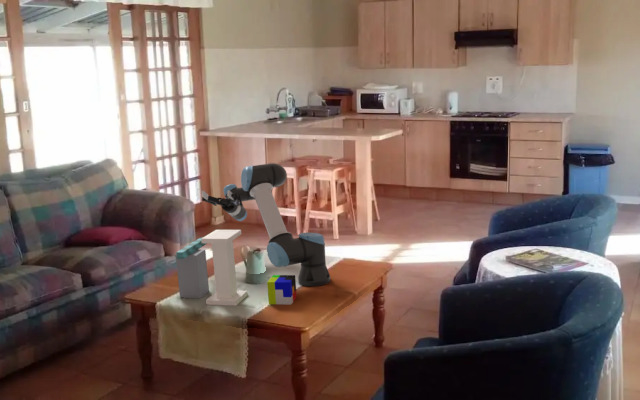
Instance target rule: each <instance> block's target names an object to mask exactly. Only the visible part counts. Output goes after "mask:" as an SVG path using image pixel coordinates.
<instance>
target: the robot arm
mask: <svg viewBox="0 0 640 400" xmlns="http://www.w3.org/2000/svg"><path fill="white" fill-rule="evenodd" d="M287 178H288V173H287V171H286V169H285V168H284V166H282V165H281V164H279V163H275V162H274V163H273V162H272V163H271V162H270V163H264V164H257V165H252V164H251V165H248V166H244V167H243V169H242V170H241V176H240V184H241V187H237V185H236V184H233V183H231V184H228V185H225V186H224V187H223V195H224V197H223V198H222V197H215V196H212V195H209V194H208V192H206V191H205V190H201V201H202V202H206V203H208V204H211V205H213V206H215V207H217V206H221V208H222V210H223V211H224V212H226V213H227V214H228V215H229V216H230V217H231V218H233V219H234V220H236V221H238V222H243V221H245V220H246V218H247V216H248V211H247V209H246V208H245V207H244V205H243V202H248V201H255V203H256V205H257V208H258V211H259V213H260V215H261V218H262V221H263V224H264V225H265V226H264V227H265V228H266V231H267V234H268V236H269V239H268V244H267V245H266V246H267V247H266V253H267V257H268V259H269V262H270V263H271V264H272V265H273V266H274V267H277V268H282V267H283V268H285V267H288V266H289V267H290V266H292V265H297V264H300V269H299V274H298V276H297V282H298V284H299V285H300V286H305V287H319V286H320V287H321V286H324V285H326V284H329V283H330V282H331V275H330V272H329V269H328V267H327V264H326V247H325V245H326V243H325V237H324V235H322V234H321V233H317V232H300V233H299V234H298V237H295V238H294V237H293V234H292V232H290V231H288V230H287V227H286V225H285V222H284V220H283V217H282V214H281V213H280V210H279V207H278V205H277V202H276V200H275V197H274V195H273V192H272V190H273V189H274V188H278V187H281V186H283V185H284V184H285V183H286V181H287Z"/></svg>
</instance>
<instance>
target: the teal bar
mask: <svg viewBox="0 0 640 400" xmlns="http://www.w3.org/2000/svg"><path fill="white" fill-rule="evenodd" d="M203 237H204V236H203ZM203 237H199V238H198V239H196V240H194V241H192V242H191V243H189V244H188V245H185V246H184V247H182V248H181V249H178V251H176V252H175V256H176V255H177V259H184V258H186V257H187V256H189V255H190V254H192V253H193V252H195V251H196V250H198V249H202V248H203V247H204V246H206V245H207V244H208V243H202V240H201V239H202V238H203Z"/></svg>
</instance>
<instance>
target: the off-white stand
mask: <svg viewBox="0 0 640 400" xmlns="http://www.w3.org/2000/svg"><path fill="white" fill-rule="evenodd" d="M241 235H242V229H214V230H213V231H212V232H210V233H208V234H206V235H205V236H203V238H202V239H201V240H202V243H207V244H211V251H212V261H213V262H212V263H213V271H214V272H213V274H214V282H215V285H214V286H215V292H214V293H212V294H211V295H210V296H209V297H208V298H207V299H206V300H205V302H206V305H213V306H237V305H239V304H240V303H241V302H242V301H243V300H244V299H245V298H246V297H247V296H248V295H249V294H248V290H241V289H239V290H238V287H237V273H236V264H235V263H236V262H235V251H234V250H235V249H234V240H235V239H237V238H238V237H239V236H241Z"/></svg>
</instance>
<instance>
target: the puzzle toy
mask: <svg viewBox="0 0 640 400" xmlns="http://www.w3.org/2000/svg"><path fill="white" fill-rule="evenodd" d="M296 283H297V282H296V275H295V274H292V275H291V274H273V275H272V276H271V277H270V278H269V279H268V280H267V283H266V287H267V296H268V297H267V298H268V304H269V305H292V304H293V303H294V301H295V300H296V298H297V284H296Z"/></svg>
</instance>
